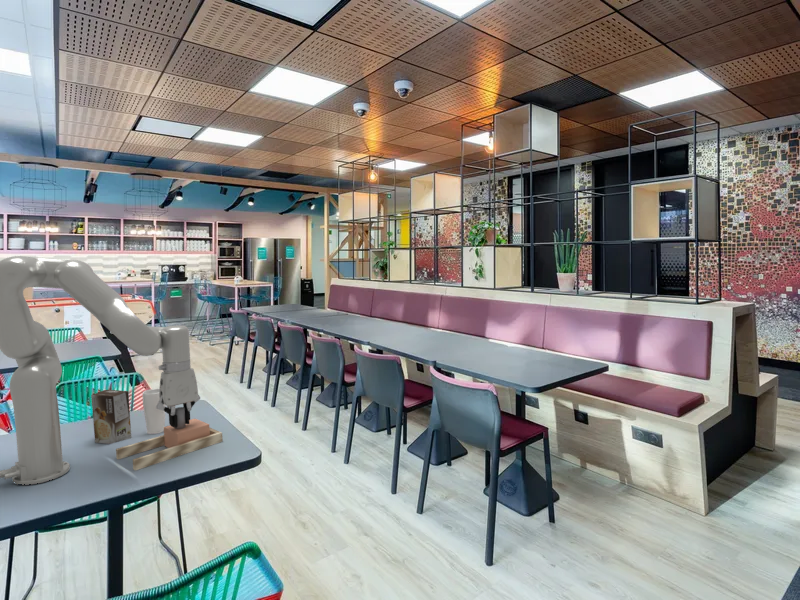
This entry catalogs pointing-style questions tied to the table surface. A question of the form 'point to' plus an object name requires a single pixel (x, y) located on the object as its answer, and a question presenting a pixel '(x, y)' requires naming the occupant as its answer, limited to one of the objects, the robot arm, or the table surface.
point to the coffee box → (111, 416)
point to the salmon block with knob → (184, 430)
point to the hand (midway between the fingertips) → (180, 424)
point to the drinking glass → (153, 412)
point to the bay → (166, 453)
